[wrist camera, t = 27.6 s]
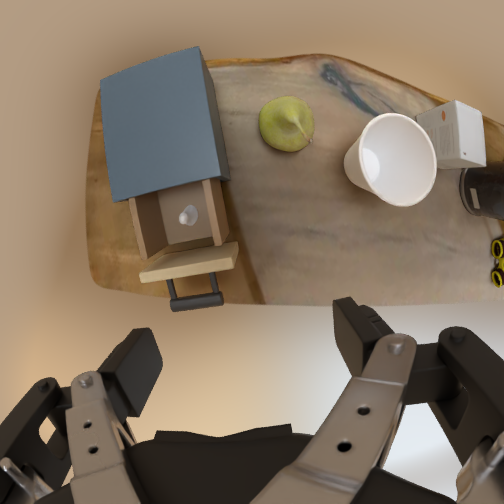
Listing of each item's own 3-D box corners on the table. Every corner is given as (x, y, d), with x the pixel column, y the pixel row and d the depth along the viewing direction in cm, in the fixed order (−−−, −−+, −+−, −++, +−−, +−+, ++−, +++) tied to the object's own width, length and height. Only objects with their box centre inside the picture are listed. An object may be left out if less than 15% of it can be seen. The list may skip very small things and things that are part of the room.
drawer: (245, 281, 37) (242, 308, 29) (173, 292, 38) (152, 319, 29) (219, 148, 33) (208, 135, 25) (145, 167, 34) (115, 161, 25)
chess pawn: (184, 204, 34) (175, 206, 30) (199, 206, 34) (192, 208, 30) (182, 224, 34) (173, 228, 30) (197, 226, 34) (189, 231, 31)
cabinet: (231, 179, 35) (221, 175, 25) (149, 198, 36) (113, 202, 25) (212, 81, 32) (198, 45, 22) (135, 103, 33) (99, 80, 22)
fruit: (297, 100, 33) (316, 64, 21) (317, 150, 34) (346, 133, 22) (251, 114, 33) (249, 81, 21) (270, 165, 35) (278, 153, 23)
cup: (320, 139, 34) (345, 119, 23) (382, 126, 33) (422, 108, 22) (340, 209, 36) (373, 217, 25) (400, 192, 35) (445, 195, 24)
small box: (443, 169, 34) (487, 168, 24) (417, 164, 34) (460, 160, 24) (441, 122, 32) (482, 111, 22) (415, 114, 32) (455, 98, 22)
